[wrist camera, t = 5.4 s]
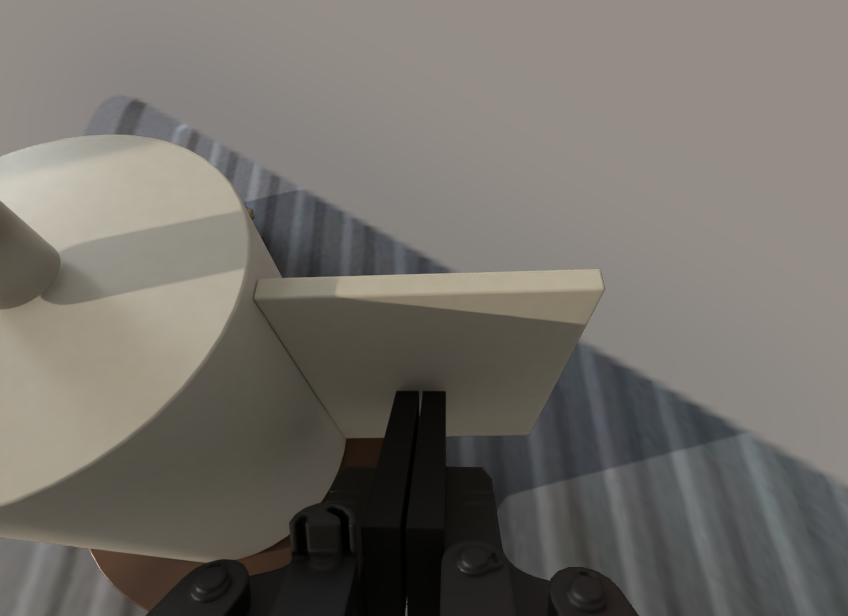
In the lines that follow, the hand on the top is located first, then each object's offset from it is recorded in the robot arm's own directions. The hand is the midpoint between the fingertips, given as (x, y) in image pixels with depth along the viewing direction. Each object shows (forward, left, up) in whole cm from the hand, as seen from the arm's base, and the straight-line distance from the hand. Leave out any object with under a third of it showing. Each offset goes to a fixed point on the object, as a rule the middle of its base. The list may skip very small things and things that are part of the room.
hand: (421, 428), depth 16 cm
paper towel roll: (-5, -1, -5) cm, 7 cm away
